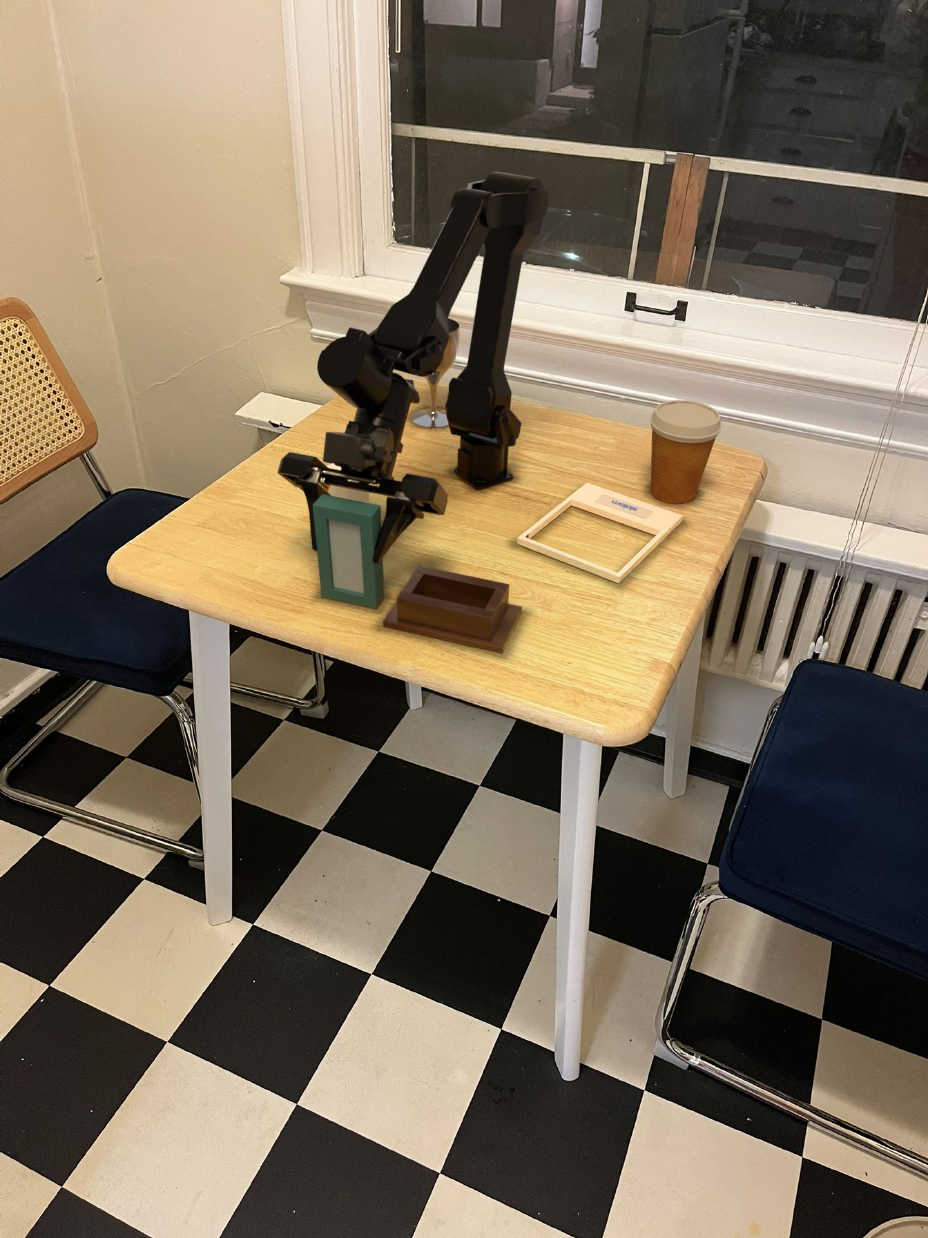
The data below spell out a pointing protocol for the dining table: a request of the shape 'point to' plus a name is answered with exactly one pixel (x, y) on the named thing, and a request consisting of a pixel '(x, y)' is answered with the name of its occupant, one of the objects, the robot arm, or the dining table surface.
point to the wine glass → (434, 415)
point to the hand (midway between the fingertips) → (344, 556)
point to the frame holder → (455, 609)
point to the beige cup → (347, 492)
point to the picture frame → (348, 550)
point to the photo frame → (614, 509)
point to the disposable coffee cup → (681, 448)
